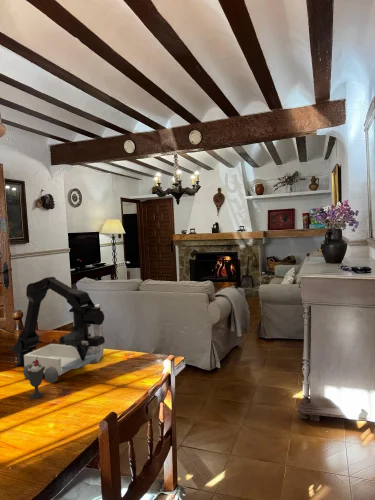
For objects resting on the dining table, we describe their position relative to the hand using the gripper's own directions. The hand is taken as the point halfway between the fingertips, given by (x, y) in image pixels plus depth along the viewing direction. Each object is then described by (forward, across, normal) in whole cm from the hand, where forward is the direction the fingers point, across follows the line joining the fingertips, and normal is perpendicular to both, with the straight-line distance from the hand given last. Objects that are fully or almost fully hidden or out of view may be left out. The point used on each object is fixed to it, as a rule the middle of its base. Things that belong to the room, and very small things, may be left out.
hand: (83, 360), depth 148 cm
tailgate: (+2, -6, 0) cm, 6 cm away
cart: (+7, -15, 0) cm, 16 cm away
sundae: (+7, -6, -20) cm, 22 cm away
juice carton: (+7, -9, +18) cm, 21 cm away
